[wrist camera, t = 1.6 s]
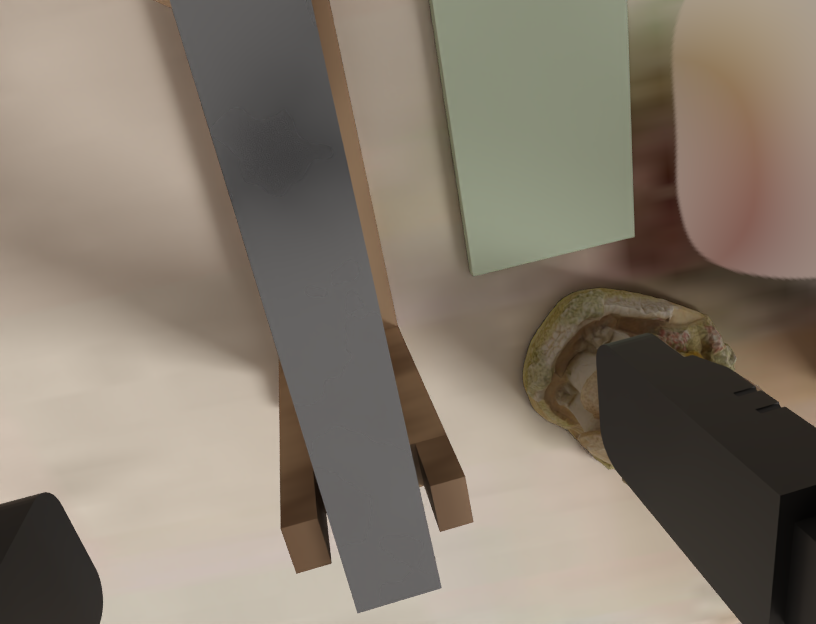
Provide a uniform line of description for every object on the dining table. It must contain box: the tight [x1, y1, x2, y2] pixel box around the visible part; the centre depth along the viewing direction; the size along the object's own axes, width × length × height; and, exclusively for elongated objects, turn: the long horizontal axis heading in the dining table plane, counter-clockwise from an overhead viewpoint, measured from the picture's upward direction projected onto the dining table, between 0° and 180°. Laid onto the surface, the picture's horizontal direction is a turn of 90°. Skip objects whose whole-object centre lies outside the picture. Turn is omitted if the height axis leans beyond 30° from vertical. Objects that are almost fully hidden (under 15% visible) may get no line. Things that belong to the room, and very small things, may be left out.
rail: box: [170, 0, 441, 613], centre depth 18 cm, size 24×3×3 cm, turn 11°
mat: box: [429, 0, 635, 277], centre depth 29 cm, size 9×19×1 cm, turn 11°
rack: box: [154, 0, 473, 574], centre depth 23 cm, size 6×24×14 cm, turn 11°
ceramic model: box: [523, 288, 763, 485], centre depth 33 cm, size 14×11×10 cm
